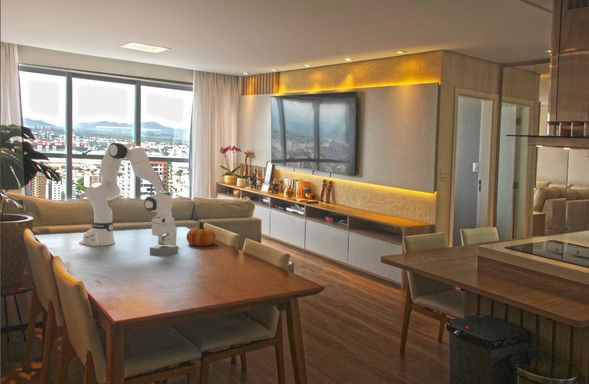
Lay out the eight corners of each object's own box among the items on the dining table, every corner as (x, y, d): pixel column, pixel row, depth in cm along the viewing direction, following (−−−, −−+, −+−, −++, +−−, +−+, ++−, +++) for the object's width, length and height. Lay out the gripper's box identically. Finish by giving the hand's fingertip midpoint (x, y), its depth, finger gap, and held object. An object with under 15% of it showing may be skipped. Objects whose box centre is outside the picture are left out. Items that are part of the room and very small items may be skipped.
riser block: (149, 254, 300) (149, 247, 300) (161, 250, 311) (161, 243, 311) (167, 256, 296) (167, 249, 296) (178, 252, 308) (178, 245, 307)
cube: (158, 244, 302) (158, 236, 301) (162, 243, 307) (162, 235, 306) (165, 245, 300) (165, 237, 300) (170, 243, 305) (170, 235, 305)
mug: (178, 245, 329) (178, 226, 328) (173, 246, 323) (173, 228, 321) (164, 243, 331) (164, 225, 330) (159, 245, 325) (159, 227, 324)
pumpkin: (206, 248, 321) (206, 225, 319) (180, 245, 327) (180, 223, 326) (221, 243, 339) (221, 221, 337) (196, 240, 345) (196, 219, 344)
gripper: (169, 215, 313) (169, 237, 314) (149, 219, 293) (149, 243, 295) (178, 216, 311) (177, 238, 312) (159, 220, 291) (159, 244, 293)
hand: (164, 240), depth 303 cm, fingers open, 5 cm apart
